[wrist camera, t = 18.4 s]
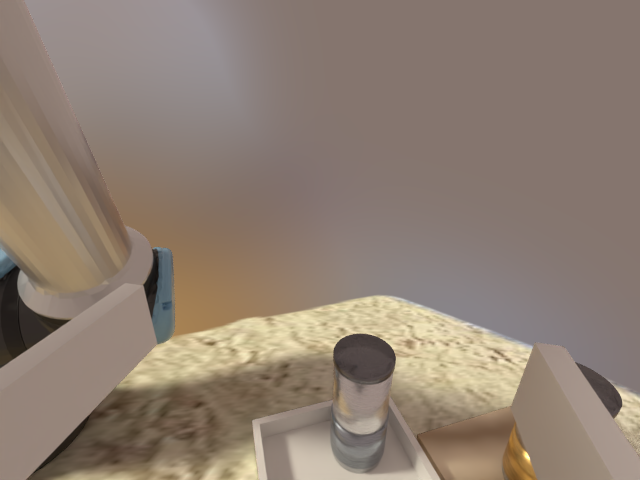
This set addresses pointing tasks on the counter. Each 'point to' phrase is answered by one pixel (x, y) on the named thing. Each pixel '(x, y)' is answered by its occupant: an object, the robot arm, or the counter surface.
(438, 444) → the board
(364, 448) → the clear grey lidded jar
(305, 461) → the white shaker tray
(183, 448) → the counter surface
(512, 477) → the lidded honey jar
